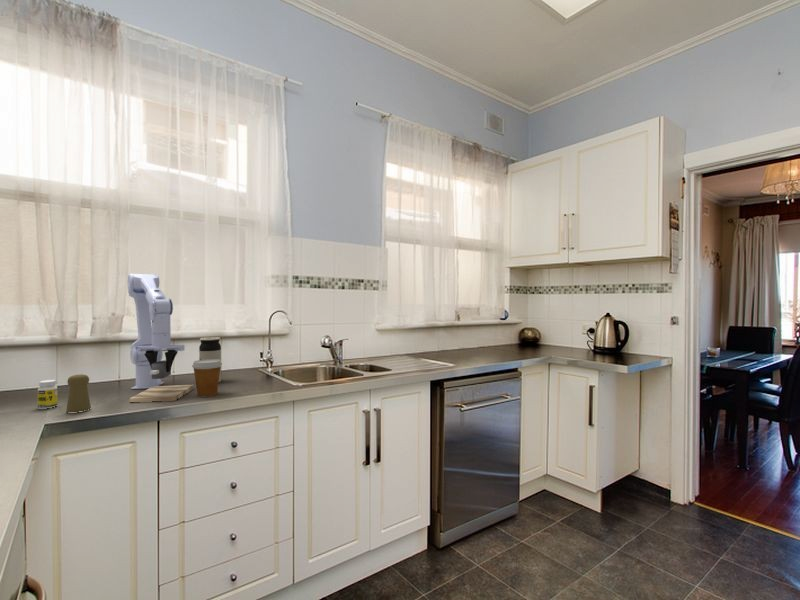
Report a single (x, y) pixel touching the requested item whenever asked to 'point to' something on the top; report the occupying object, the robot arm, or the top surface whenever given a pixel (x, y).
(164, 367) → the connector
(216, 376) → the disposable coffee cup
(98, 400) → the top surface
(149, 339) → the robot arm
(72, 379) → the cork
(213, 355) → the travel mug
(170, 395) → the wooden board
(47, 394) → the supplement bottle
